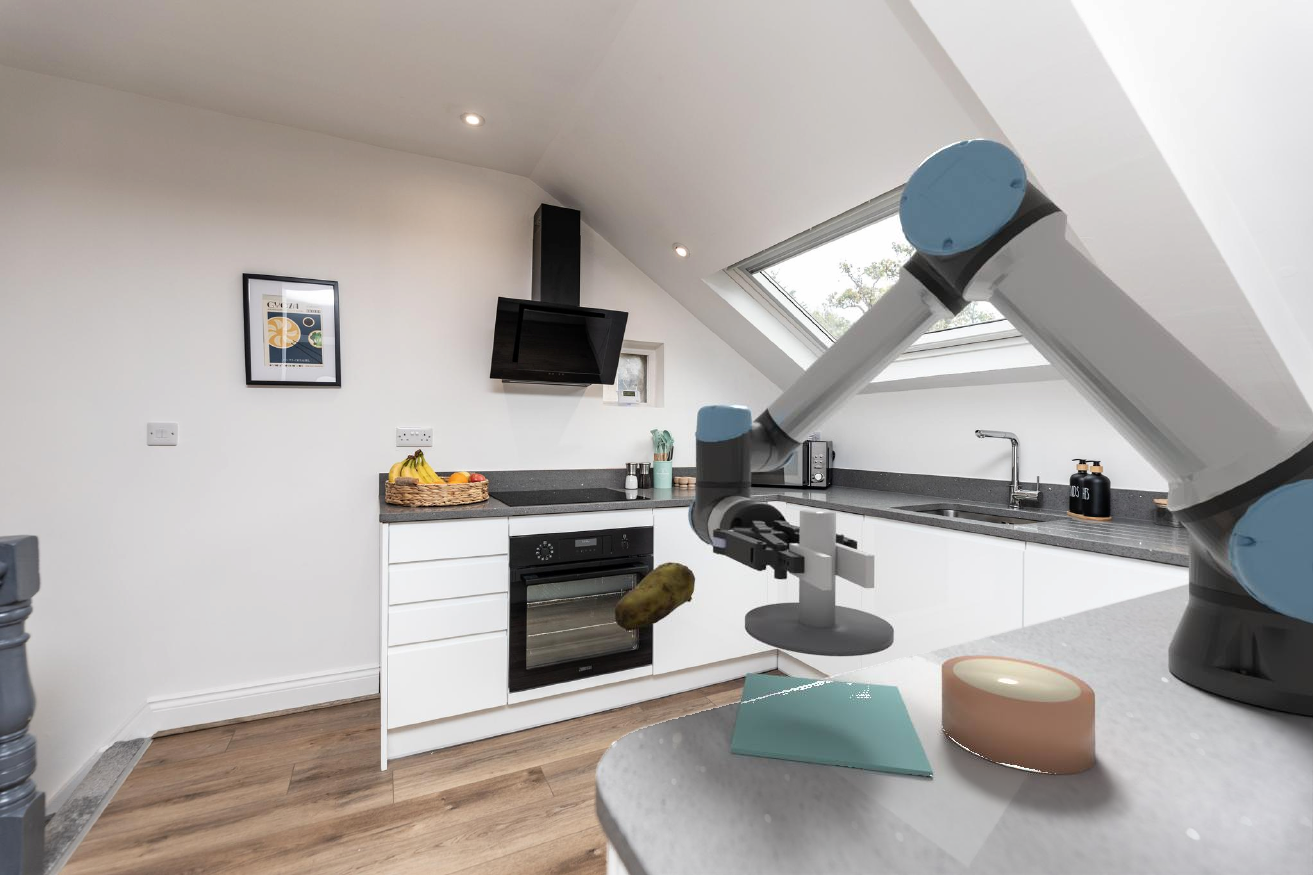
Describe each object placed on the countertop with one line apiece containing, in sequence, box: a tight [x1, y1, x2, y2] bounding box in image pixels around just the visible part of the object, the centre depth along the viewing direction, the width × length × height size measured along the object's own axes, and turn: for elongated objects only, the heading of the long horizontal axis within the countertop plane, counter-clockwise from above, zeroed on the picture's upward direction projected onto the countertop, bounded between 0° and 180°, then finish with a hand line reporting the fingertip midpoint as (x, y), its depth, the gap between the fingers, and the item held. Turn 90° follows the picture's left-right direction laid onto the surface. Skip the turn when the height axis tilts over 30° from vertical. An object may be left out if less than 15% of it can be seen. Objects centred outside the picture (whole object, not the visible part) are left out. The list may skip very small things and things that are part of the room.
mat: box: [730, 672, 934, 777], centre depth 53 cm, size 15×16×1 cm
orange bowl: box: [941, 654, 1096, 775], centre depth 50 cm, size 11×11×5 cm
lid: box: [744, 509, 895, 657], centre depth 54 cm, size 13×13×11 cm
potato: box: [614, 561, 696, 631], centre depth 82 cm, size 8×13×8 cm, turn 116°
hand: (848, 572), depth 49 cm, fingers closed on lid, 3 cm apart
